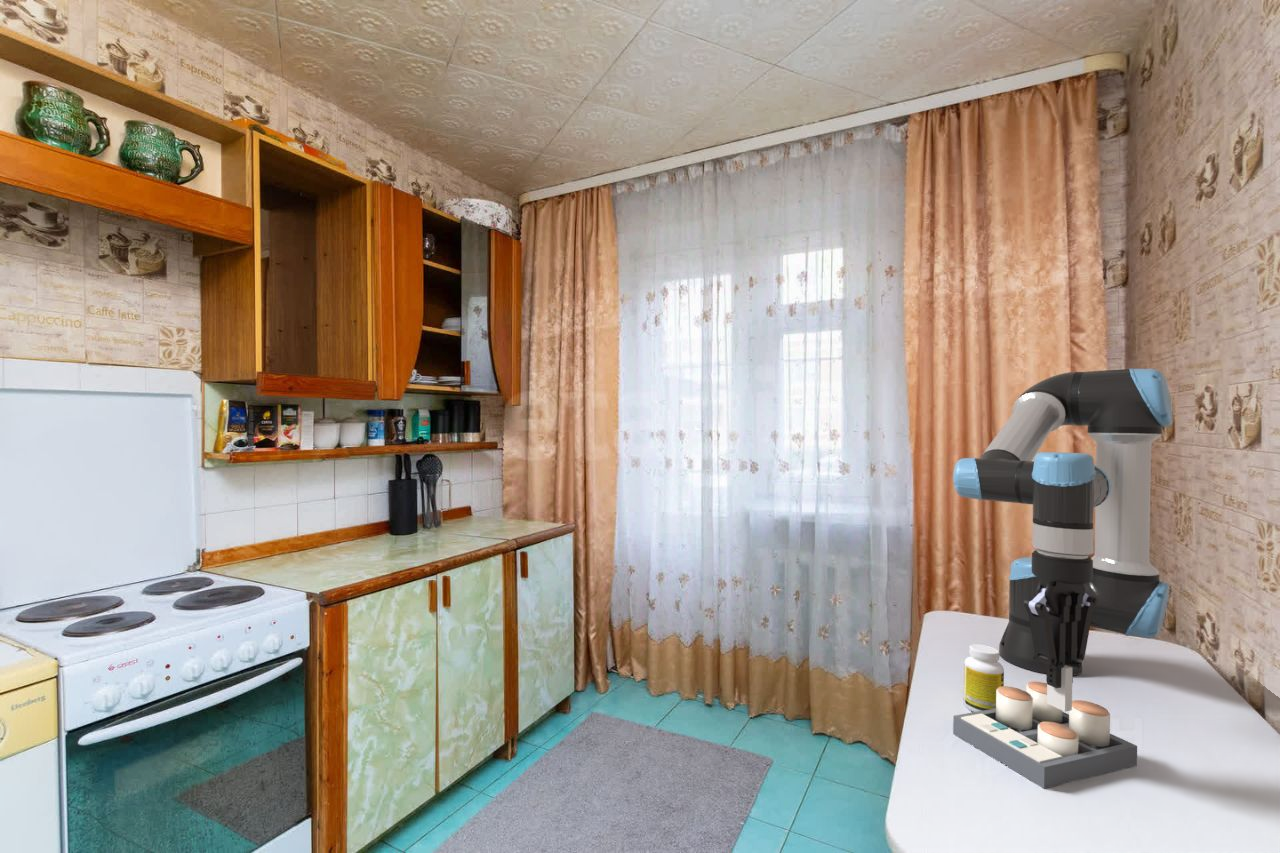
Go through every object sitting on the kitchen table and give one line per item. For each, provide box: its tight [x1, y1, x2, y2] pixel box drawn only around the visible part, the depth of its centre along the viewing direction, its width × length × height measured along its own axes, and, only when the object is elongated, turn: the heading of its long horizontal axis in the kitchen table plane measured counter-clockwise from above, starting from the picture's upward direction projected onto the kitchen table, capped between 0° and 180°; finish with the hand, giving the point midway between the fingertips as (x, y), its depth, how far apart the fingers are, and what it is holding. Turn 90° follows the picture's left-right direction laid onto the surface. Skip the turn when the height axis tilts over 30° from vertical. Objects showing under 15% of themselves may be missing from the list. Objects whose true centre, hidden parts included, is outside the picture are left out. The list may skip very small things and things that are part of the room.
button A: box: [1025, 681, 1064, 724], centre depth 95 cm, size 5×5×5 cm
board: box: [952, 708, 1138, 790], centre depth 90 cm, size 20×15×3 cm
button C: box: [996, 685, 1033, 730], centre depth 92 cm, size 5×5×5 cm
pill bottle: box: [963, 643, 1005, 713], centre depth 102 cm, size 6×6×11 cm
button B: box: [1068, 699, 1111, 747], centre depth 88 cm, size 5×5×5 cm
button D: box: [1037, 722, 1079, 757], centre depth 86 cm, size 5×5×5 cm
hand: (1059, 706), depth 86 cm, fingers closed
